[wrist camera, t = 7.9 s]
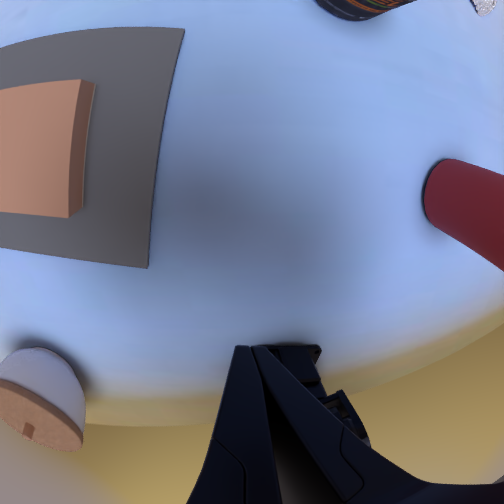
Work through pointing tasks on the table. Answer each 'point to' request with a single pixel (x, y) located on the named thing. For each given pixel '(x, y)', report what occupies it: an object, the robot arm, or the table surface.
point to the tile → (44, 147)
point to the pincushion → (484, 6)
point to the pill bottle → (360, 7)
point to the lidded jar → (42, 398)
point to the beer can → (468, 206)
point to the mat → (101, 138)
